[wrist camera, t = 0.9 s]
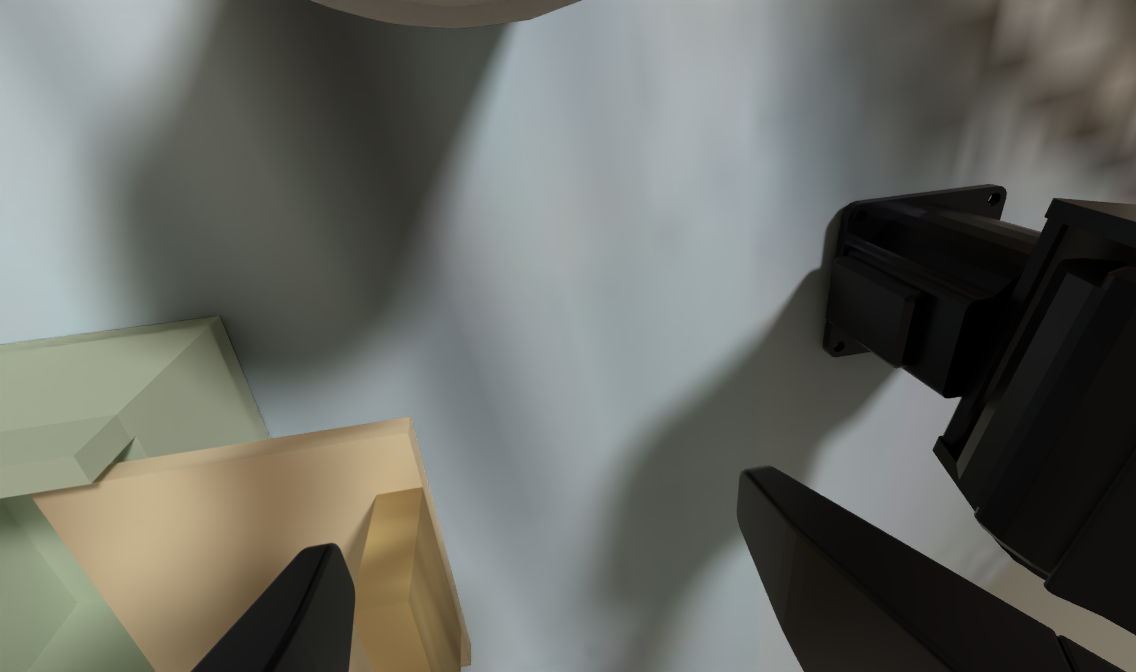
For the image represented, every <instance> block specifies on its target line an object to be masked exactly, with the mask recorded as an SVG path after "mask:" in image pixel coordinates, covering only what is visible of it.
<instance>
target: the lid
mask: <svg viewBox="0 0 1136 672" xmlns="http://www.w3.org/2000/svg"><path fill="white" fill-rule="evenodd" d="M30 496H31V497H32V499H33V500H34V501H35V503H36V504H37V506H38V507H39V508H40V510H41V511H42V513H43V514H44V515H45V517H46V518H47V520H48V521H49V522H50V524H51V525H52V527H53V528H54V529H55V531H56V532H57V534H58V535H59V536H60V538H61V539H62V541H63V542H64V543H65V545H66V546H67V548H68V549H69V550H70V552H71V553H72V555H73V556H74V557H75V559H76V560H77V562H78V563H79V565H80V566H81V567H82V569H83V570H84V572H85V573H86V574H87V576H88V577H89V579H90V580H91V581H92V583H93V584H94V586H95V587H96V588H97V590H98V591H99V593H100V594H101V595H102V597H103V598H104V600H105V601H106V602H107V604H108V605H109V607H110V608H111V609H112V611H113V612H114V614H115V615H116V616H117V618H118V619H119V621H120V622H121V623H122V625H123V626H124V628H125V629H126V630H127V632H128V633H129V635H130V636H131V637H132V639H133V640H134V642H135V643H136V644H137V646H138V647H139V649H140V650H141V651H142V653H143V654H144V656H145V657H146V658H147V660H148V661H149V663H150V664H151V665H152V667H153V668H154V670H155V671H156V672H190V671H191V670H192V669H193V668H194V667H195V666H196V665H197V664H198V663H199V661H200V660H201V659H202V658H203V657H204V656H205V655H206V654H207V653H208V652H209V650H210V649H211V648H212V647H213V646H214V645H215V644H216V643H217V642H218V641H219V640H220V638H221V637H222V636H223V635H224V634H225V633H226V632H227V631H228V630H229V629H230V627H231V626H232V625H233V624H234V623H235V622H236V621H237V620H238V619H239V618H240V616H241V615H242V614H243V613H244V612H245V611H246V610H247V609H248V608H249V607H250V606H251V604H252V603H253V602H254V601H255V600H256V599H257V598H258V597H259V596H260V595H261V593H262V592H263V591H264V590H265V589H266V588H267V587H268V586H269V585H270V584H271V583H272V581H273V580H274V579H275V578H276V577H277V576H278V575H279V574H280V573H281V572H282V570H283V569H284V568H285V567H286V566H287V565H288V564H289V563H290V562H291V561H292V560H293V558H294V557H295V556H296V555H297V554H298V553H299V552H300V551H301V550H303V549H304V548H306V547H310V546H315V545H321V544H326V543H335V544H337V545H338V546H339V548H340V549H341V552H342V554H343V557H344V559H345V562H346V564H347V567H348V569H349V572H350V575H351V577H352V580H353V582H354V587H355V611H354V622H353V633H352V643H351V654H350V665H349V672H461V667H463V666H468V665H471V644H470V640H469V636H468V632H467V628H466V625H465V621H464V617H463V613H462V609H461V606H460V602H459V598H458V594H457V590H456V587H455V583H454V579H453V575H452V571H451V568H450V564H449V560H448V556H447V552H446V549H445V545H444V541H443V537H442V533H441V530H440V526H439V522H438V518H437V514H436V511H435V507H434V503H433V499H432V495H431V492H430V488H429V484H428V480H427V476H426V473H425V469H424V465H423V461H422V457H421V454H420V450H419V446H418V442H417V438H416V435H415V431H414V427H413V423H412V419H411V417H407V418H401V419H394V420H388V421H381V422H375V423H369V424H362V425H356V426H350V427H343V428H337V429H330V430H324V431H318V432H311V433H305V434H299V435H292V436H286V437H279V438H273V439H267V440H260V441H254V442H248V443H241V444H235V445H228V446H222V447H216V448H209V449H203V450H196V451H190V452H184V453H177V454H171V455H165V456H158V457H152V458H145V459H139V460H133V461H126V462H120V463H114V464H109V465H108V466H107V467H106V468H105V469H104V470H103V472H102V473H101V474H100V475H99V476H98V477H97V478H96V479H95V480H94V481H93V482H92V483H91V484H87V485H81V486H74V487H68V488H62V489H56V490H49V491H43V492H37V493H31V494H30Z"/></svg>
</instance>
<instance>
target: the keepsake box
mask: <svg viewBox="0 0 1136 672" xmlns="http://www.w3.org/2000/svg"><path fill="white" fill-rule="evenodd" d="M267 439H271V438H270V436H269V434H268V431H267V429H266V426H265V424H264V422H263V419H262V417H261V414H260V412H259V410H258V407H257V405H256V402H255V400H254V398H253V395H252V393H251V390H250V388H249V386H248V383H247V381H246V378H245V376H244V374H243V371H242V369H241V366H240V364H239V362H238V359H237V357H236V354H235V352H234V350H233V347H232V345H231V342H230V340H229V338H228V335H227V333H226V330H225V328H224V326H223V323H222V321H221V318H220V316H214V317H207V318H199V319H192V320H184V321H177V322H169V323H162V324H154V325H147V326H139V327H132V328H124V329H117V330H109V331H102V332H94V333H87V334H79V335H72V336H64V337H57V338H49V339H42V340H34V341H27V342H19V343H12V344H4V345H0V672H156V671H155V670H154V668H153V667H152V665H151V664H150V663H149V661H148V660H147V658H146V657H145V656H144V654H143V653H142V651H141V650H140V649H139V647H138V646H137V644H136V643H135V642H134V640H133V639H132V637H131V636H130V635H129V633H128V632H127V630H126V629H125V628H124V626H123V625H122V623H121V622H120V621H119V619H118V618H117V616H116V615H115V614H114V612H113V611H112V609H111V608H110V607H109V605H108V604H107V602H106V601H105V600H104V598H103V597H102V595H101V594H100V593H99V591H98V590H97V588H96V587H95V586H94V584H93V583H92V581H91V580H90V579H89V577H88V576H87V574H86V573H85V572H84V570H83V569H82V567H81V566H80V565H79V563H78V562H77V560H76V559H75V557H74V556H73V555H72V553H71V552H70V550H69V549H68V548H67V546H66V545H65V543H64V542H63V541H62V539H61V538H60V536H59V535H58V534H57V532H56V531H55V529H54V528H53V527H52V525H51V524H50V522H49V521H48V520H47V518H46V517H45V515H44V514H43V513H42V511H41V510H40V508H39V507H38V506H37V504H36V503H35V501H34V500H33V499H32V497H31V496H30V494H31V493H37V492H43V491H49V490H56V489H62V488H68V487H74V486H81V485H87V484H91V483H92V482H93V481H94V480H95V479H96V478H97V477H98V476H99V475H100V474H101V473H102V472H103V470H104V469H105V468H106V467H107V466H108V465H109V464H114V463H120V462H126V461H133V460H139V459H145V458H152V457H158V456H165V455H171V454H177V453H184V452H190V451H196V450H203V449H209V448H216V447H222V446H228V445H235V444H241V443H248V442H254V441H260V440H267Z"/></svg>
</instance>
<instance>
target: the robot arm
mask: <svg viewBox="0 0 1136 672" xmlns="http://www.w3.org/2000/svg"><path fill="white" fill-rule="evenodd" d="M991 195H992V197H991V199H990V200H989V198H990V196H991ZM1006 195H1007V192H1006V189H1005V188H1004V187H1002V186H998V185H993V184H986V185H978V186H970V187H962V188H955V189H947V190H939V191H931V192H923V193H915V194H907V195H899V196H892V197H884V198H876V199H868V200H860V201H855V202H852V203H850V204H849V205H848V206H847V207H846V208H845V209H844V211H843V214H842V218H841V225H840V231H839V238H838V245H837V252H836V258H835V262H834V264H833V270H832V277H831V284H830V290H829V297H828V304H827V311H826V325H825V332H824V338H823V349H824V350H825V351H826V352H827V353H828V354H829V355H831V356H833V357H840V356H847V355H853V354H859V353H866V352H872V353H874V354H875V355H877V356H878V357H879V358H881V359H882V360H884V361H885V362H886V363H888V364H889V365H891V366H892V367H894V368H902V369H904V370H905V371H907V372H908V373H910V374H911V375H912V376H914V377H915V378H917V379H918V380H920V381H921V382H923V383H924V384H925V385H927V386H928V387H930V388H931V389H933V390H934V391H936V392H937V393H938V394H940V395H941V396H943V397H944V398H955V397H961V399H960V402H959V404H958V406H957V408H956V410H955V412H954V414H953V416H952V418H951V420H950V422H949V424H948V426H947V428H946V430H945V433H944V435H943V436H939V437H938V439H937V441H936V444H935V446H934V448H933V452H934V453H935V455H936V456H937V458H938V459H939V461H940V462H941V464H942V465H943V466H944V468H945V469H946V471H947V472H948V474H949V475H950V477H951V478H952V479H953V481H954V482H955V484H956V485H957V487H958V488H959V489H960V491H961V492H962V494H963V495H964V497H965V498H966V500H967V501H968V502H969V504H970V505H971V507H972V508H973V510H974V511H975V513H974V516H975V518H976V519H977V521H978V522H979V524H980V525H981V527H982V528H983V529H985V530H986V531H987V532H988V533H989V534H990V535H991V536H992V537H993V538H994V539H995V540H996V542H997V543H998V544H999V545H1000V546H1001V547H1002V549H1004V550H1005V551H1006V552H1007V553H1008V554H1009V555H1010V557H1011V558H1012V559H1013V560H1015V561H1016V562H1017V563H1019V564H1021V565H1023V566H1024V567H1026V568H1027V569H1028V570H1030V571H1031V572H1032V573H1034V574H1035V575H1037V576H1039V577H1041V578H1042V579H1044V580H1045V582H1044V587H1045V588H1046V589H1047V590H1048V591H1049V592H1050V593H1052V594H1054V595H1056V596H1058V597H1060V598H1062V599H1064V600H1067V601H1069V602H1071V603H1073V604H1076V605H1078V606H1080V607H1083V608H1085V609H1087V610H1089V611H1092V612H1094V613H1096V614H1098V615H1101V616H1103V617H1105V618H1106V619H1108V620H1110V621H1111V622H1113V623H1115V624H1117V625H1119V626H1120V627H1122V628H1124V629H1126V630H1128V631H1129V632H1131V633H1133V634H1135V635H1136V205H1133V204H1121V203H1109V202H1097V201H1085V200H1073V199H1061V198H1053V200H1052V202H1051V204H1050V206H1049V208H1048V210H1047V212H1046V214H1045V218H1048V220H1047V222H1046V224H1045V226H1044V228H1043V230H1042V232H1039V231H1036V230H1032V229H1028V228H1025V227H1021V226H1018V225H1014V224H1011V223H1007V222H1004V221H1000V218H1001V214H1002V211H1003V207H1004V204H1005V200H1006ZM988 200H989V201H988ZM858 211H860V216H859V218H858V219H857V220H855V219H854V217H855V215H856V213H857V212H858ZM837 342H839V343H838V345H837V346H836V347H834V345H835V344H836V343H837ZM737 518H738V523H739V526H740V529H741V532H742V534H743V536H744V539H745V541H746V544H747V546H748V549H749V551H750V554H751V556H752V558H753V561H754V563H755V566H756V568H757V571H758V573H759V576H760V578H761V580H762V583H763V585H764V588H765V590H766V593H767V595H768V597H769V600H770V602H771V605H772V607H773V610H774V612H775V614H776V617H777V619H778V621H779V624H780V626H781V628H782V630H783V632H784V634H785V636H786V638H787V640H788V642H789V644H790V646H791V648H792V650H793V652H794V654H795V656H796V658H797V660H798V662H799V663H800V665H801V667H802V669H803V671H804V672H1125V671H1123V670H1121V669H1120V668H1118V667H1117V666H1115V665H1113V664H1111V663H1109V662H1108V661H1106V660H1104V659H1102V658H1101V657H1099V656H1097V655H1096V654H1094V653H1092V652H1090V651H1089V650H1087V649H1085V648H1084V647H1082V646H1080V645H1078V644H1077V643H1075V642H1073V641H1072V640H1070V639H1068V638H1066V637H1064V636H1061V635H1060V636H1056V634H1055V632H1054V631H1053V630H1052V629H1051V628H1049V627H1047V626H1045V625H1044V624H1042V623H1040V622H1038V621H1037V620H1035V619H1033V618H1032V617H1030V616H1028V615H1026V614H1025V613H1023V612H1021V611H1019V610H1018V609H1016V608H1014V607H1013V606H1011V605H1009V604H1008V603H1006V602H1004V601H1002V600H1001V599H999V598H997V597H996V596H994V595H992V594H990V593H989V592H987V591H985V590H984V589H982V588H980V587H978V586H977V585H975V584H973V583H972V582H970V581H968V580H966V579H965V578H963V577H961V576H960V575H958V574H956V573H954V572H953V571H951V570H949V569H948V568H946V567H944V566H942V565H941V564H939V563H937V562H935V561H934V560H932V559H930V558H929V557H927V556H925V555H923V554H922V553H920V552H918V551H917V550H915V549H913V548H911V547H910V546H908V545H906V544H905V543H903V542H901V541H899V540H898V539H896V538H894V537H893V536H891V535H889V534H887V533H886V532H884V531H882V530H881V529H879V528H877V527H875V526H874V525H872V524H870V523H869V522H867V521H865V520H863V519H862V518H860V517H858V516H857V515H855V514H853V513H851V512H850V511H848V510H846V509H845V508H843V507H841V506H839V505H838V504H836V503H834V502H833V501H831V500H829V499H827V498H826V497H824V496H822V495H820V494H819V493H817V492H815V491H814V490H812V489H810V488H808V487H807V486H805V485H803V484H802V483H800V482H798V481H796V480H795V479H793V478H791V477H790V476H788V475H786V474H784V473H783V472H781V471H779V470H778V469H776V468H774V467H772V466H768V465H764V466H759V467H753V468H747V469H744V470H743V471H742V472H741V474H740V477H739V488H738V501H737ZM354 611H355V587H354V582H353V580H352V577H351V575H350V572H349V569H348V567H347V564H346V562H345V559H344V557H343V554H342V552H341V549H340V548H339V546H338V545H337V544H335V543H326V544H321V545H315V546H310V547H306V548H304V549H303V550H301V551H300V552H299V553H298V554H297V555H296V556H295V557H294V558H293V560H292V561H291V562H290V563H289V564H288V565H287V566H286V567H285V568H284V569H283V570H282V572H281V573H280V574H279V575H278V576H277V577H276V578H275V579H274V580H273V581H272V583H271V584H270V585H269V586H268V587H267V588H266V589H265V590H264V591H263V592H262V593H261V595H260V596H259V597H258V598H257V599H256V600H255V601H254V602H253V603H252V604H251V606H250V607H249V608H248V609H247V610H246V611H245V612H244V613H243V614H242V615H241V616H240V618H239V619H238V620H237V621H236V622H235V623H234V624H233V625H232V626H231V627H230V629H229V630H228V631H227V632H226V633H225V634H224V635H223V636H222V637H221V638H220V640H219V641H218V642H217V643H216V644H215V645H214V646H213V647H212V648H211V649H210V650H209V652H208V653H207V654H206V655H205V656H204V657H203V658H202V659H201V660H200V661H199V663H198V664H197V665H196V666H195V667H194V668H193V669H192V670H191V671H190V672H349V665H350V654H351V643H352V633H353V622H354Z"/></svg>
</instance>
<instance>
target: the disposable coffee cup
mask: <svg viewBox="0 0 1136 672" xmlns="http://www.w3.org/2000/svg"><path fill="white" fill-rule="evenodd" d="M311 1H314V2H316V3H319V4H322V5H324V6H327V7H330V8H333V9H336V10H340V11H344V12H347V13H351V14H355V15H359V16H363V17H366V18H370V19H375V20H379V21H383V22H388V23H392V24H399V25H413V26H427V27H442V28H470V27H478V26H486V25H494V24H502V23H510V22H517V21H524V20H530V19H533V18H535V17H538V16H541V15H543V14H546V13H549V12H551V11H554V10H557V9H560V8H562V7H565V6H568V5H570V4H573V3H576V2H578V1H581V0H311Z"/></svg>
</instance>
